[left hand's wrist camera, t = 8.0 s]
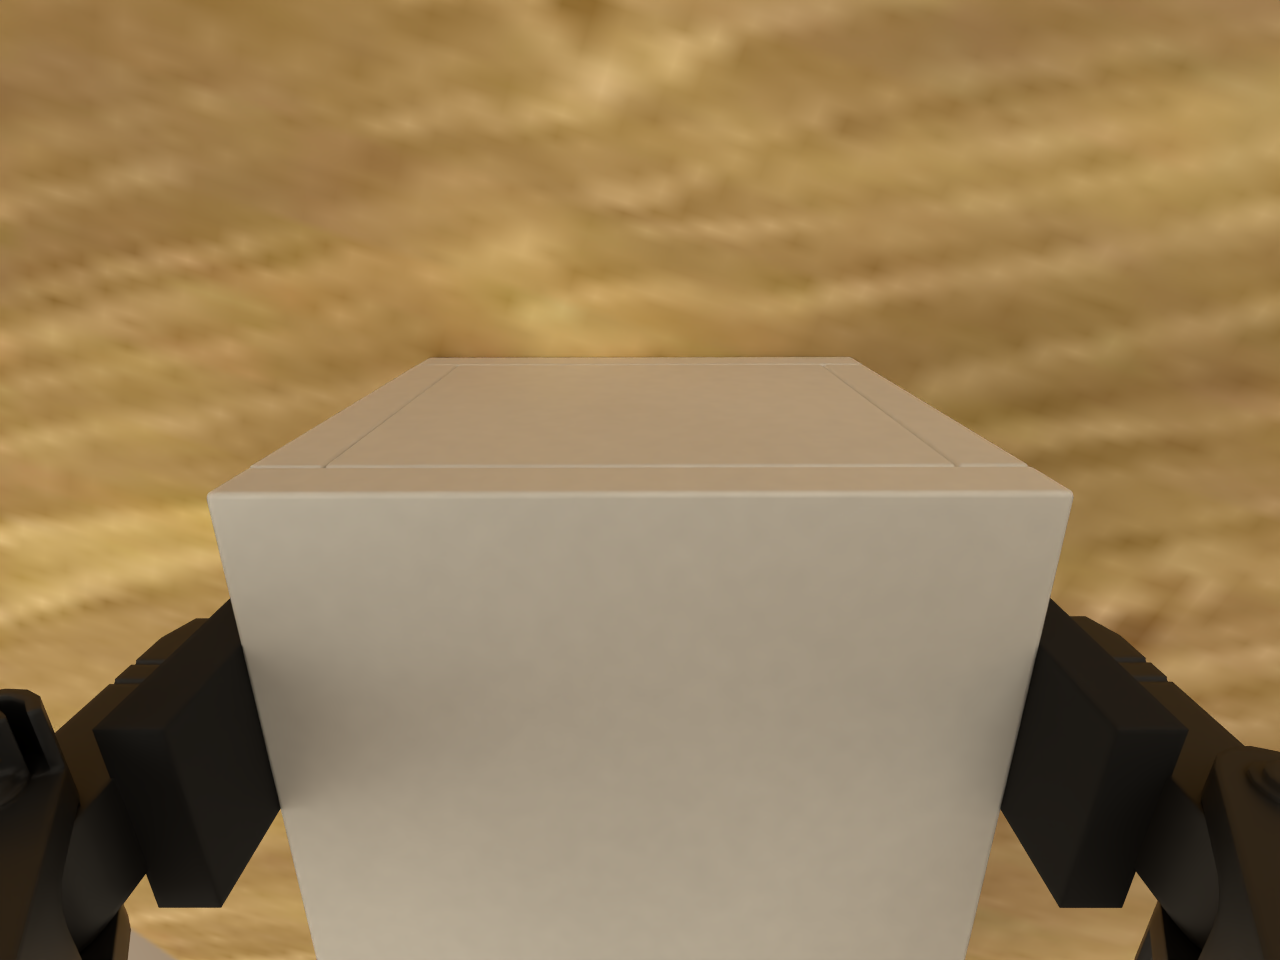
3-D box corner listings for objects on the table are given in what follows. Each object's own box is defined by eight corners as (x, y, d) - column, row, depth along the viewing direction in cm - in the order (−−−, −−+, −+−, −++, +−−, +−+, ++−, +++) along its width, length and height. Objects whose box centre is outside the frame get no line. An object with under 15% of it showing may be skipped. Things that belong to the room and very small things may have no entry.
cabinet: (791, 935, 23) (877, 1339, 15) (491, 935, 23) (406, 1340, 15) (852, 356, 16) (1078, 491, 8) (427, 357, 16) (201, 493, 8)
